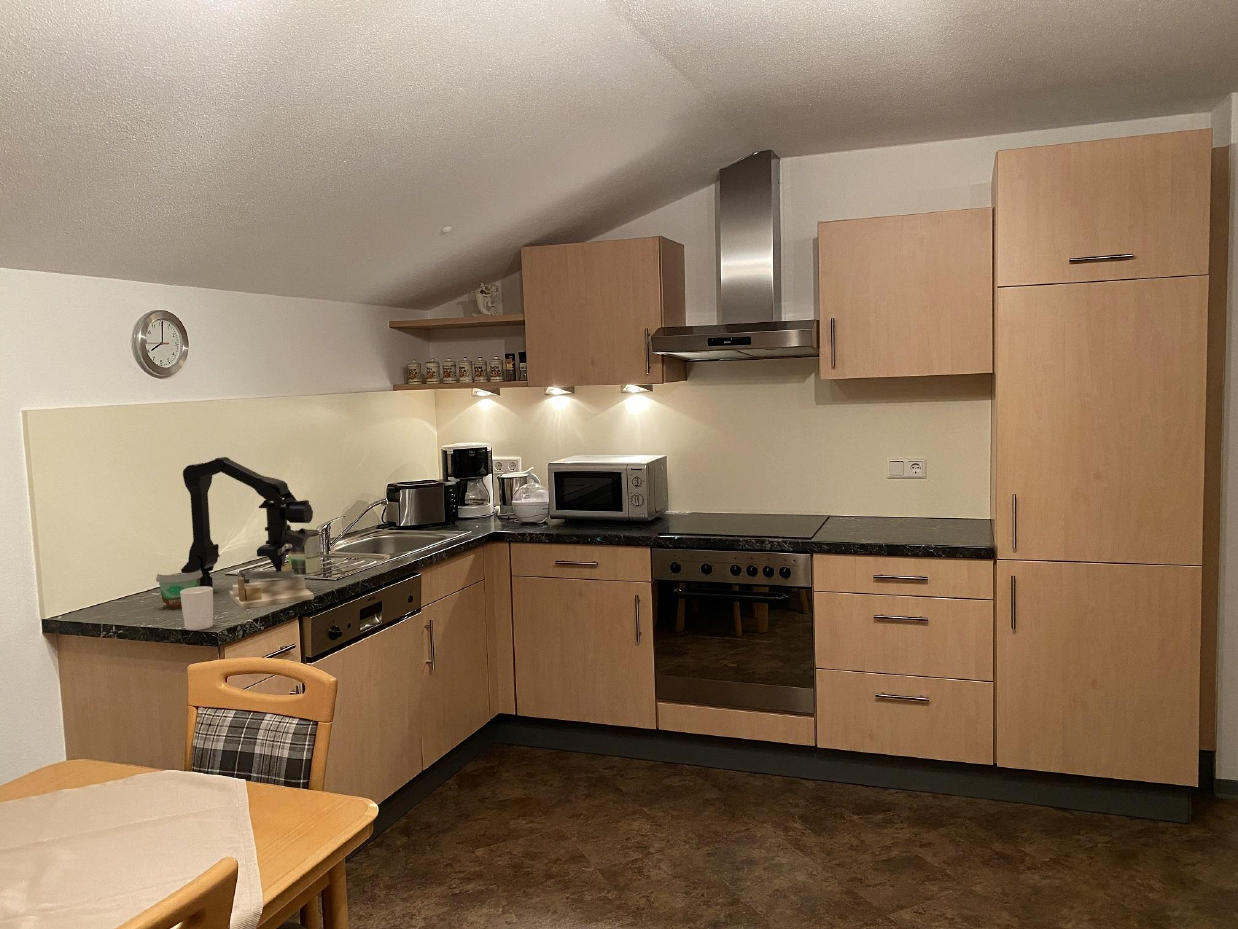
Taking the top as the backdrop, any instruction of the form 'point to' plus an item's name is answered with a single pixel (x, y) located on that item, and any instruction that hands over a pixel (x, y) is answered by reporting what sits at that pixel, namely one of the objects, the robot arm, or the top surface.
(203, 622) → the white cup
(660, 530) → the top surface
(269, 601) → the wooden base tray
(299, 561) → the coffee can
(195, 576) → the food container
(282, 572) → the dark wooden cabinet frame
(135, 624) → the top surface
